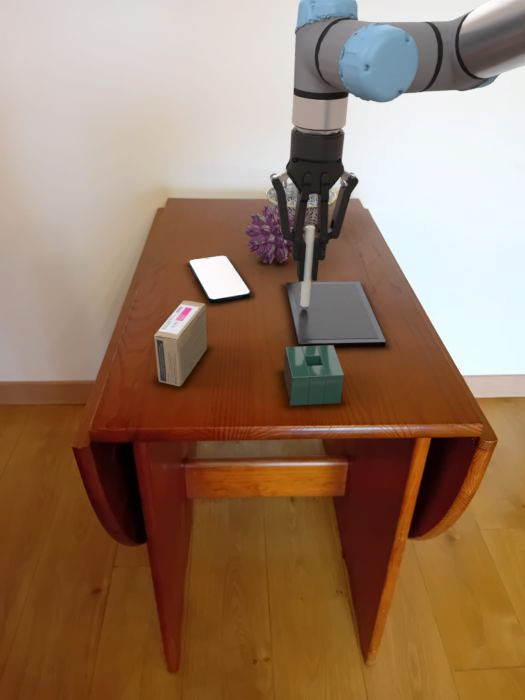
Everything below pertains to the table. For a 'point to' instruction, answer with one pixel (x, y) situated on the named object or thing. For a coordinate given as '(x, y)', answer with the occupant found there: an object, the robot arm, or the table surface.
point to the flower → (269, 235)
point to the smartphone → (219, 279)
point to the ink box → (181, 342)
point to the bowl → (292, 199)
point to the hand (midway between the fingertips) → (306, 276)
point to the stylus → (307, 267)
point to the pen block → (313, 375)
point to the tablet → (334, 316)
